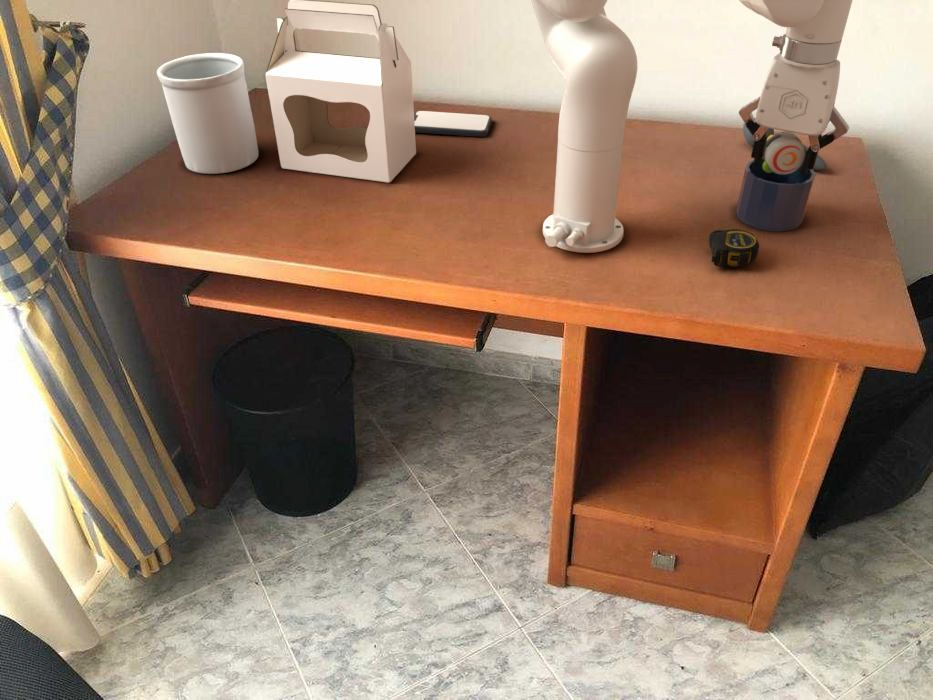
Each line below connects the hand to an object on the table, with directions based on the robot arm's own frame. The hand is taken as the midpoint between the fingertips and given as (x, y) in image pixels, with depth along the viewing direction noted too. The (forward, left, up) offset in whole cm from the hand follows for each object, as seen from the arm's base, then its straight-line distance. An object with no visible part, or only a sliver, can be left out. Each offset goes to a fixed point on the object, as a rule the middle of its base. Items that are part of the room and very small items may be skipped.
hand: (780, 166), depth 121 cm
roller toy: (0, 0, -1) cm, 1 cm away
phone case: (+7, +65, -9) cm, 66 cm away
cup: (0, 0, -9) cm, 9 cm away
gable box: (-16, +73, -9) cm, 75 cm away
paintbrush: (+25, +4, -9) cm, 27 cm away
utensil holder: (-27, +95, -9) cm, 99 cm away
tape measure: (-17, +2, -9) cm, 19 cm away
